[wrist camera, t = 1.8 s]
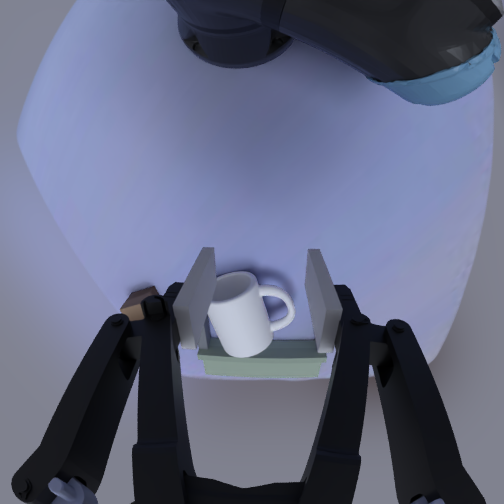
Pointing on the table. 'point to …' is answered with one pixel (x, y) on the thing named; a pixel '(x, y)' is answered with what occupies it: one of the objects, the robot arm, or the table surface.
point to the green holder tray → (261, 359)
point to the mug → (245, 313)
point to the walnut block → (137, 303)
